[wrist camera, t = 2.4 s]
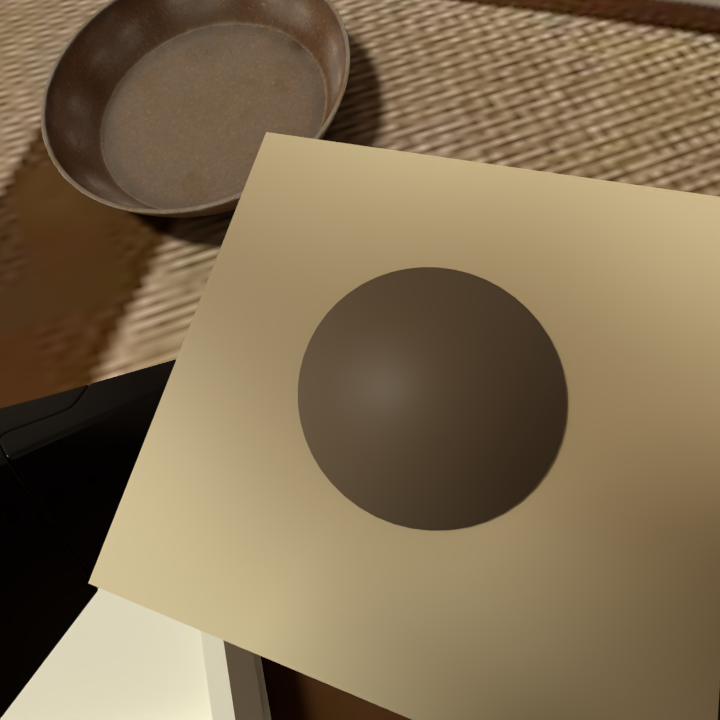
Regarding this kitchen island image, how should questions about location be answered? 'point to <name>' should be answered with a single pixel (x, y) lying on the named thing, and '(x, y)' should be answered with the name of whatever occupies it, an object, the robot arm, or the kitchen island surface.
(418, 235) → the maple block
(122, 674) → the tray
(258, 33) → the plant saucer
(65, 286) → the kitchen island surface
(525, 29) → the kitchen island surface
